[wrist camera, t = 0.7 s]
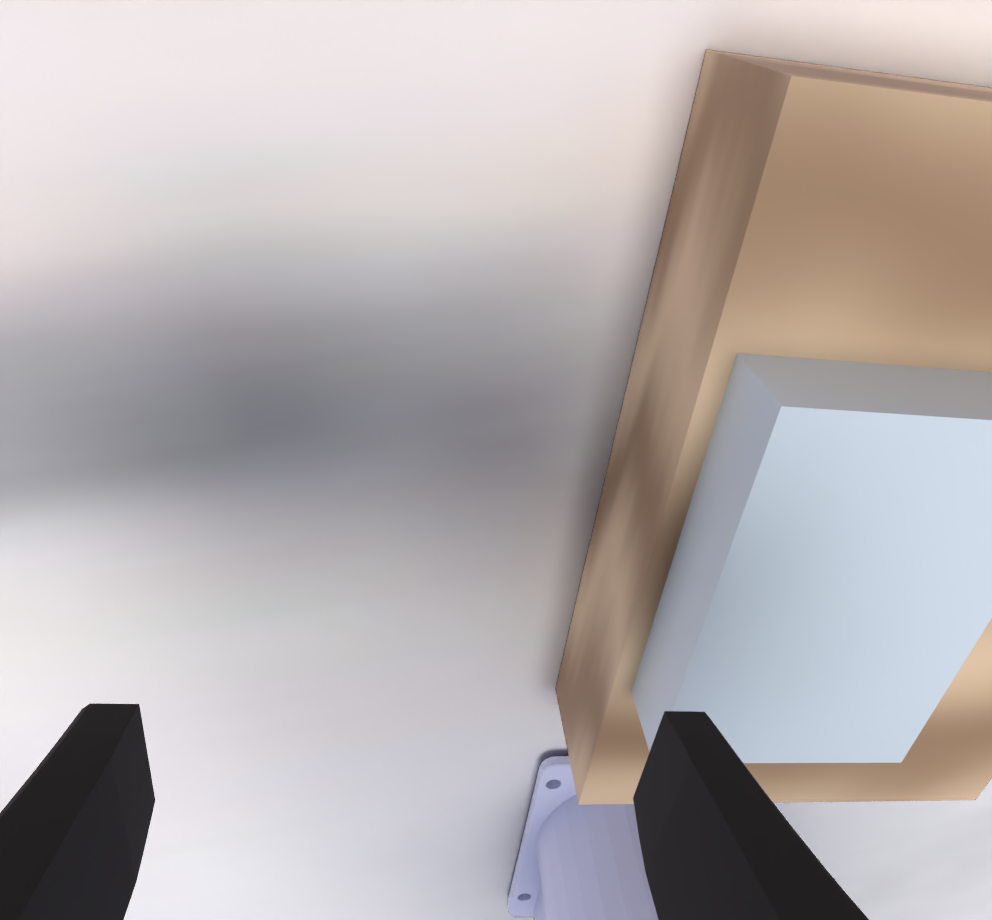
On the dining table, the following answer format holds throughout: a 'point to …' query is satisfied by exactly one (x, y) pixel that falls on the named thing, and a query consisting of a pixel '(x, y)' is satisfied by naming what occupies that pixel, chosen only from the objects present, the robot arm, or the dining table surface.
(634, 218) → the dining table surface
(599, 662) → the tan flat wooden block
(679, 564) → the tile
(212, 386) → the dining table surface
